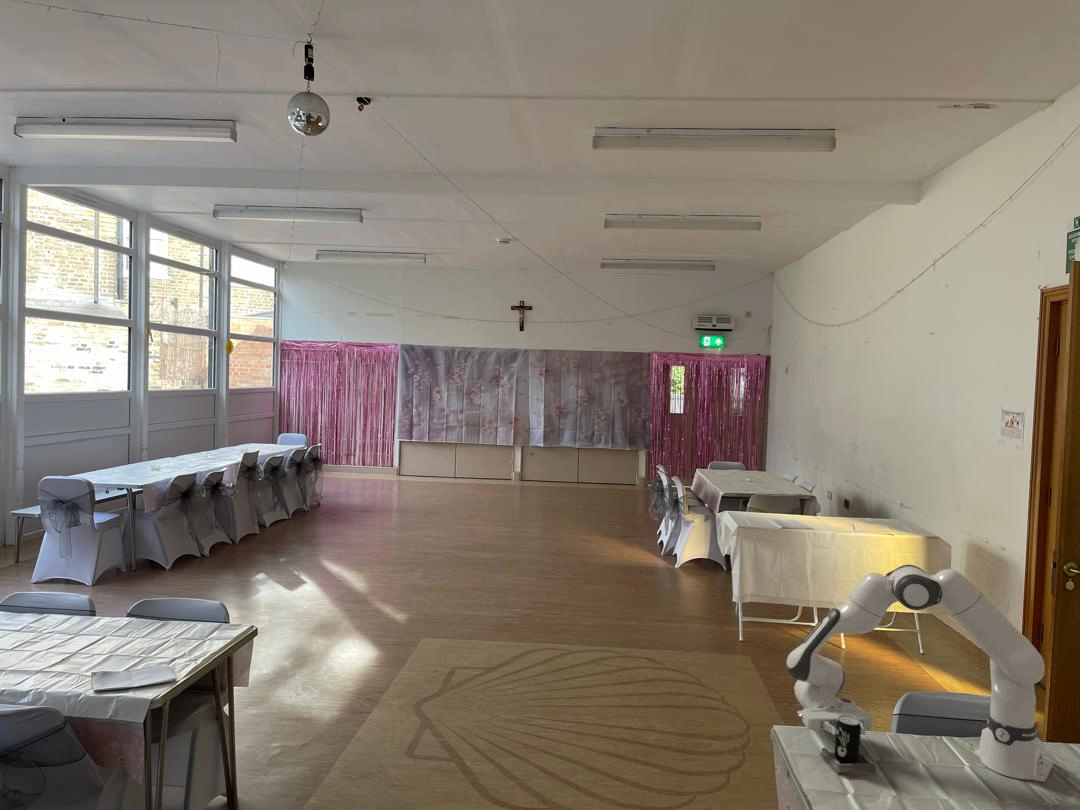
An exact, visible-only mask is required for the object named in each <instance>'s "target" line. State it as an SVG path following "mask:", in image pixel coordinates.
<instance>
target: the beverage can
mask: <svg viewBox="0 0 1080 810" xmlns="http://www.w3.org/2000/svg"><path fill="white" fill-rule="evenodd" d="M859 723H860V721H859V720H858V719H857V718H855V717H852V716H848V715H841V716H839V717H838V720H837V723H836V727H837V728H838V729H839V735H835V741H834V742H835V744H834V752H835V757H836V758H837V760H838V761H840V762H842V763H844V764H856V763H857V762H858V761H859V750H861V748H860V746H861V735H860V734H861V726H860V724H859Z"/></svg>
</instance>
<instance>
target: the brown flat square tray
mask: <svg viewBox="0 0 1080 810" xmlns="http://www.w3.org/2000/svg"><path fill="white" fill-rule="evenodd" d="M819 756H820V757H821V758H822V759H823V761H825V762H826V764H827V765H828V764H829V765H828V766H829V767H830V768H831V769H832V770H833V771H834V772H835V773H836V774H837V776H868V775H867V774H875V775H876V764H875V763H874V762H873V760H871V759H870V758H868V757H867V755H866V754H865V753H863V752H862V751H861V749H859V761H858V762H857V763H856V764H844V763H842V762H840V761H838V760H837V758H836V757H835V751H834V752H830V751H829V750H828V749H827V747H821V752H820V753H819Z"/></svg>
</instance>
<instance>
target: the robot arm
mask: <svg viewBox="0 0 1080 810" xmlns="http://www.w3.org/2000/svg"><path fill="white" fill-rule="evenodd" d="M851 591H852V592H851V593H850V594H849V596H848V598H847V599H846V600H845V601H844V602H843V603H842V604H841V605H840V606H838V607H837V608H834V609H830V610H828V611H827V612H826V613H825V614H824V615H823V616H822V617H821V618H820V619H819V620H818V621H817V623H816V624H815V625H814V627H813V628H812V629H811V630H810V631H809V632H808V633H807V634H806V636H805V637H804V638H803V640H802V641H801V642H800V643H799V644H798V645H797V646H796V647H794V648H793V649H791V651H790V652H789V653H788V655H787V657H786V659H785V666H786V668H787V672H788V673H789V675H790V677H791V678H792V679H794V680H797V681H796V682H795V684H794V696H795V698H796V699H797V701H798V703H799V704H800V705H801V706H802V707H803V709H799V710H797V712H796V713H797V716H799V717H800V718H801V720H802V722H803V723H802V724H804V726H805V728H807V729H808V730H811V731H826V732H829V733H831V734H832V735H835V736H836V735H839V729H838V728H837V727H836V723H837V720H838V717H839V716H841V715H848V716H852V717H855V718H857V719H858V720H859V721H860V723H859V724H860V726H861V734H860V736H863V735H864V736H865V735H866V731H871V730H872V729H873V728H872V727H873V717H872V716H871V715H870V714H869V713H868V712H867V711H866V710H865V709H863V708H862V707H860V706H858V705H856V702H855V701H854V700H851V699H847V698H840V697H838V696H839V694H840V693H842V692H841V691H842V690H843V689H844V687H845V684H846V674H845V670H844V668H843V666H842V664H841V663H839V662H838V661H835V660H832V659H830V658H828V657H824V656H823V655H820V654H819V653H818V652H820V650H821V648H823V646H824V645H825V644H826V643H827V642H828V640H829V639H830V638H832V637H833V636H835V635H838V634H839V635H841V634H856V635H857V634H861V635H862V634H868V633H870V632H872V631H874V630H875V629H876V628H877V627H878V625H879V624H880V623H881V621H882V620H883V618H884V616H885V615H886V613H887V611H888V609H889V608H890V607H891V606H892V605H893V604H894V603H897V602H899V603H900V604H901V605H902V606H903V607H904V608H907V609H909V610H912V611H922V610H926V609H927V608H931V607H933V606H936V605H941V606H942V607H943V608H944V609H945V611H947V612H948V613H949V614H950V616H952V617H953V618H954V619H955V621H957V623H958V624H959V625H960V626H961V627H962V628H963V629H964V630H965V631H966V633H968V634H969V635H970V637H972V639H973V640H974V641H975V643H976V644H977V645H978V646H979V647H980V648H981V649H982V650H983V651H984V652H985V653H986V655H987V656H988V657H989V664H990V665H989V666H990V667H989V668H990V670H989V671H990V683H991V685H990V686H991V689H990V691H991V695H990V708H989V709H990V711H989V712H988V714H987V721H986V722H987V727H985V728H982V731H981V737H980V744H979V748H977V749H976V748H975V749H974V755H975V756H977V758H979V759H980V761H981V763H982V764H983V765H984V766H985V767H987V768H988V769H990V770H992V771H994V772H996V773H997V774H1000V775H1003V776H1006V777H1010V778H1013V779H1019V780H1028V781H1029V780H1032V781H1037V782H1042V783H1043V782H1044V783H1045V782H1046V781H1047V779H1048V777H1049V775H1050V773H1051V771H1052V768H1053V766H1054V760H1052V759H1051V758H1049V757H1048V756H1045V752H1046V749H1045V748H1046V747H1045V743H1044V742H1043V741H1041V739H1040V738H1039V737H1038V734H1037V733H1038V729H1039V727H1040V721H1038V720H1036V718H1035V717H1036V704H1037V703H1036V702H1037V697H1036V692H1035V684H1037V683H1039V682H1041V680H1042V679H1043V677H1044V676H1045V673H1046V671H1045V670H1046V669H1045V667H1046V666H1045V663H1044V662H1045V661H1044V659H1043V656H1042V655H1041V653H1039V651H1038V649H1036V647H1035V646H1034V645H1033V644H1032V642H1031V641H1030V640H1029V639H1028V638H1027V637H1026V636H1025V635H1024V634H1023V633H1021V632H1020V631H1019V630H1018V629H1017V628H1016V626H1014V625H1013V624H1012V622H1010V620H1009V619H1008V618H1007V617H1006V616H1005V615H1004V614H1003V613H1002V611H1000V610H999V609H998V608H997V606H995V604H994V603H993V602H992V601H991V600H990V599H989V598H988V597H987V596H986V595H985V594H984V593H983V592H982V591H981V590H980V589H979V588H978V587H977V586H976V585H975V584H974V583H973V582H971V581H970V580H969V579H968V578H967V577H965V576H964V575H963V574H961V573H960V572H959V571H957V570H955V569H953V568H946V569H945V568H944V569H942V570H939V571H938V572H936V573H935V574H927V573H926V572H925V571H924V570H923V569H922V568H920V567H919V566H916V565H913V564H904V565H901V566H898V567H896V568H895V569H893V570H891V571H888V572H887V573H886V575H884V574H881V573H879V572H868V573H867V574H866V575H865V576H863V578H862V579H860V581H859V582H858V583H857V584H856V586H855V587H854V589H853V590H851Z"/></svg>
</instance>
